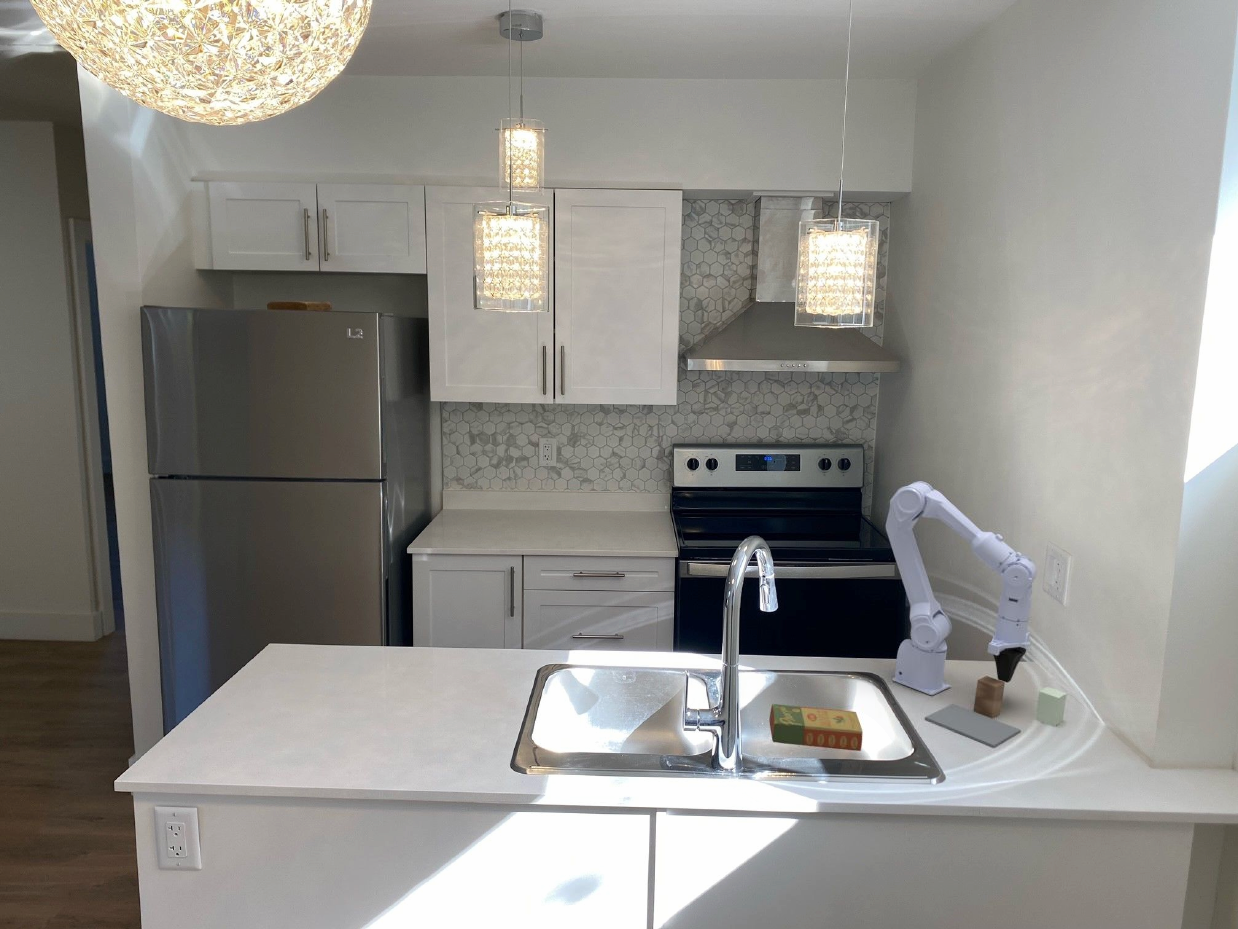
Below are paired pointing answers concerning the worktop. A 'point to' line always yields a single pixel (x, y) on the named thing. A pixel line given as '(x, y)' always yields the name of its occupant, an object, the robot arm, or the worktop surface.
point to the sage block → (1050, 706)
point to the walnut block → (989, 697)
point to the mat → (973, 725)
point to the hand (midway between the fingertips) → (1003, 680)
